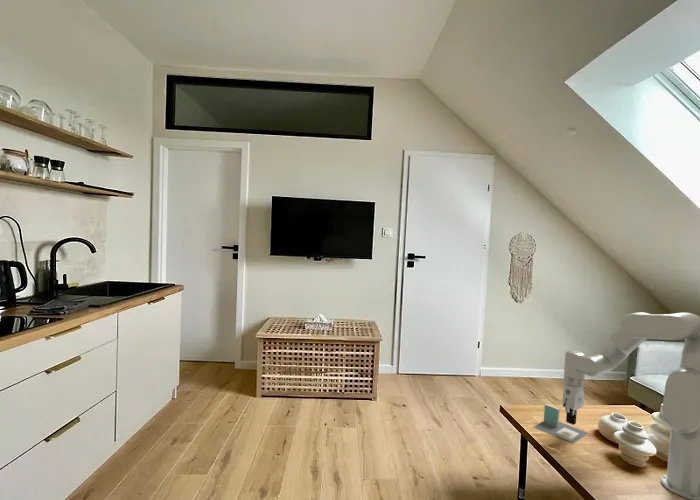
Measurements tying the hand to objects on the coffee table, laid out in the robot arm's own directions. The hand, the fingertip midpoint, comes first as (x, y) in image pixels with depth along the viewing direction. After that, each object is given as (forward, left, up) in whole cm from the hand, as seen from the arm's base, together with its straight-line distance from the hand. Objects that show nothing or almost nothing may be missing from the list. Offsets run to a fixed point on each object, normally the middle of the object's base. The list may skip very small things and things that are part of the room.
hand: (570, 422), depth 160 cm
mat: (+4, 0, -6) cm, 7 cm away
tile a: (0, -2, -4) cm, 5 cm away
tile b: (+9, -2, -5) cm, 11 cm away
